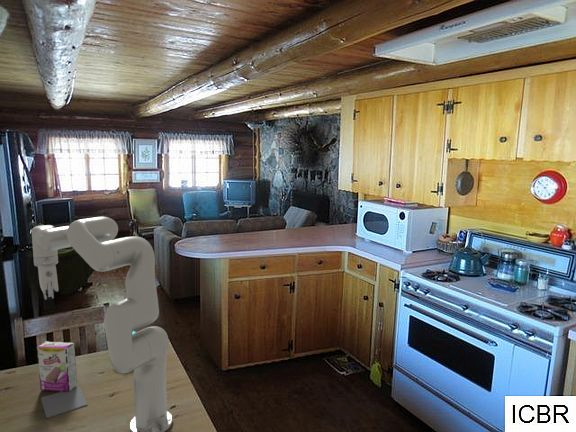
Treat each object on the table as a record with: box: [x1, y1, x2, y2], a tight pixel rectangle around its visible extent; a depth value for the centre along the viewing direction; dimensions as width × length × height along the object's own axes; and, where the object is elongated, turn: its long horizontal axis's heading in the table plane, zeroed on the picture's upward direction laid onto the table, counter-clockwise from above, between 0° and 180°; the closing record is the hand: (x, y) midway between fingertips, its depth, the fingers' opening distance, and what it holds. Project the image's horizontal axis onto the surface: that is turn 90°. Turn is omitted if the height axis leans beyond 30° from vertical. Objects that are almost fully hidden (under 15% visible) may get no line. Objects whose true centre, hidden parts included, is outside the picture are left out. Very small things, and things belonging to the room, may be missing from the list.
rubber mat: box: [40, 386, 88, 419], centre depth 141 cm, size 13×12×1 cm
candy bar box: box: [36, 340, 78, 392], centre depth 147 cm, size 11×5×16 cm, turn 84°
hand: (49, 308), depth 152 cm, fingers closed
